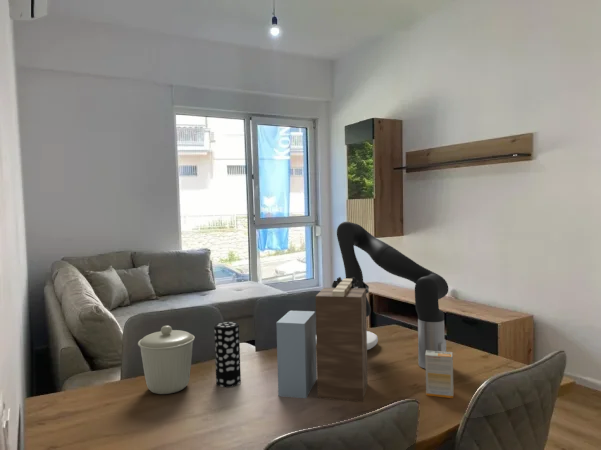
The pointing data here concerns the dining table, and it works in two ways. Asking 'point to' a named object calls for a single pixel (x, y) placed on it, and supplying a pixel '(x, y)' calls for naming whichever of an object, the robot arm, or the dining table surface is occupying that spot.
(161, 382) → the canister
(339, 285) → the slat
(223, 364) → the white-spotted black cylinder
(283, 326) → the gray rectangular box
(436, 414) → the dining table surface
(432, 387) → the supplement box
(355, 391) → the walnut box
